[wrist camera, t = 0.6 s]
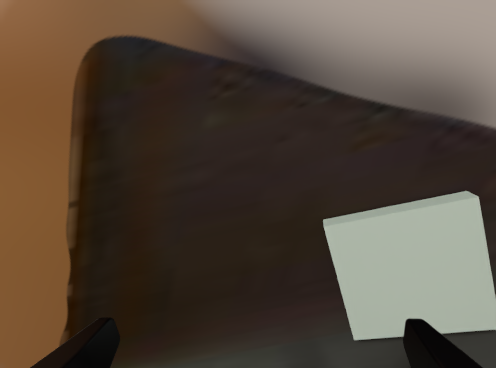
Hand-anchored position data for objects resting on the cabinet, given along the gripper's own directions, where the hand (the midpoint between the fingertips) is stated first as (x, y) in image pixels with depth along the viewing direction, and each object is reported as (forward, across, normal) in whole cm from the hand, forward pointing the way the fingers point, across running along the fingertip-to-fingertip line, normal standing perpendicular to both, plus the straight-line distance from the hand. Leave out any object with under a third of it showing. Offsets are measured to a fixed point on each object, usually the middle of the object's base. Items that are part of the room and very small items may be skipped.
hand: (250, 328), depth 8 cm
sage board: (+13, -10, +8) cm, 18 cm away
